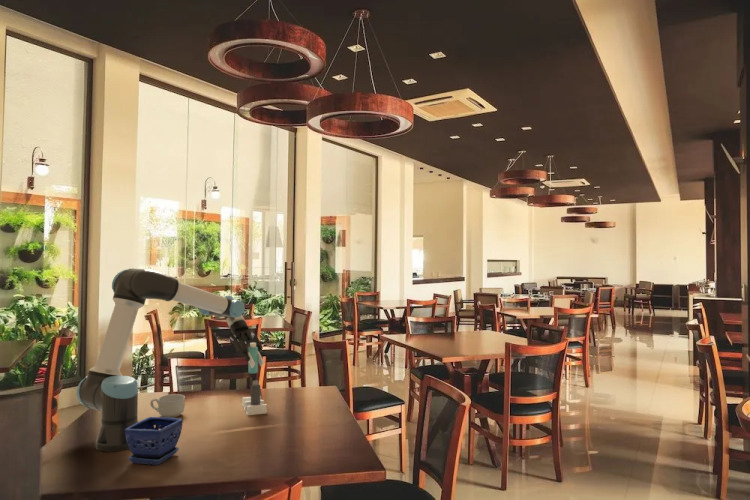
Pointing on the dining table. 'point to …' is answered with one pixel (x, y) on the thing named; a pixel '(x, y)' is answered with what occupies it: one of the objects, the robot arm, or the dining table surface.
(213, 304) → the robot arm
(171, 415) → the teacup
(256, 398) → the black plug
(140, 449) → the flower pot
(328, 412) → the dining table surface
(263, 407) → the cord comb
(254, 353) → the teal bottle
